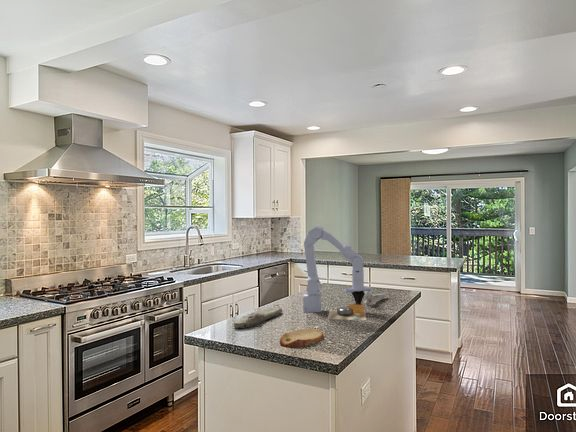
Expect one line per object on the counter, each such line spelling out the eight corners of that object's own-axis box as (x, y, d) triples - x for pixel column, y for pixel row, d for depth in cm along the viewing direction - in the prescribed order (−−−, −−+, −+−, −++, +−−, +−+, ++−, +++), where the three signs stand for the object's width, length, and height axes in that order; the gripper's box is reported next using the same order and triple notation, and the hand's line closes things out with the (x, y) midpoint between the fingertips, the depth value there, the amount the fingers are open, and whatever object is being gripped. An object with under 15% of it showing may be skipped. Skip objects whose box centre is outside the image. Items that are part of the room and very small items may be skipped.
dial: (336, 315, 187) (336, 305, 187) (337, 311, 195) (337, 302, 195) (363, 316, 185) (363, 306, 185) (363, 312, 193) (363, 302, 193)
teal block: (353, 318, 182) (353, 318, 182) (355, 318, 182) (355, 317, 182) (355, 319, 180) (355, 319, 180) (358, 319, 180) (358, 318, 180)
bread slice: (322, 333, 164) (322, 324, 164) (327, 347, 146) (327, 338, 146) (279, 334, 164) (279, 325, 164) (279, 348, 146) (279, 338, 146)
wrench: (386, 303, 230) (364, 307, 206) (383, 302, 232) (361, 306, 208) (386, 289, 231) (365, 292, 207) (384, 289, 232) (362, 291, 208)
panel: (327, 321, 182) (327, 318, 182) (329, 311, 200) (329, 309, 200) (366, 322, 179) (366, 320, 179) (365, 312, 197) (365, 310, 197)
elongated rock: (287, 316, 198) (271, 315, 203) (287, 305, 199) (271, 304, 204) (246, 330, 168) (228, 328, 173) (246, 317, 168) (228, 316, 174)
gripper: (367, 277, 201) (367, 303, 201) (341, 279, 198) (341, 305, 197) (373, 279, 195) (374, 306, 195) (347, 281, 191) (347, 308, 191)
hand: (358, 306), depth 196 cm, fingers closed
